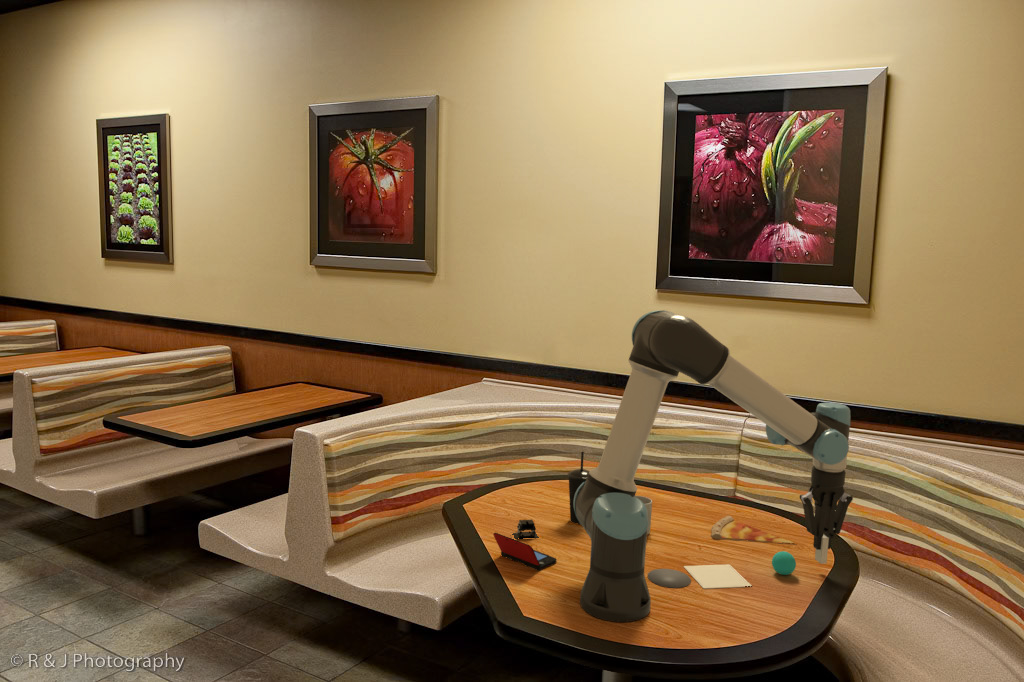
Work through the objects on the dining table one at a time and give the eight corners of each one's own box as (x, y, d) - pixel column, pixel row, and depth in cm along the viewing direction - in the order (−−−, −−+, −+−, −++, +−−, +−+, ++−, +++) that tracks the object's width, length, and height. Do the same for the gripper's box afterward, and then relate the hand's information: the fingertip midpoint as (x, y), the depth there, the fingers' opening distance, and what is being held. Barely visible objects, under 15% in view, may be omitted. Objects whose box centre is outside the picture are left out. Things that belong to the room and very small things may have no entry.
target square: (703, 588, 178) (703, 588, 178) (683, 566, 190) (683, 566, 190) (752, 586, 180) (752, 585, 180) (729, 565, 192) (729, 564, 192)
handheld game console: (558, 563, 190) (559, 534, 189) (529, 576, 182) (531, 546, 181) (520, 548, 198) (521, 520, 197) (491, 560, 190) (492, 531, 189)
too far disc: (656, 588, 177) (656, 588, 177) (641, 570, 187) (641, 569, 187) (697, 587, 179) (697, 586, 179) (681, 568, 189) (681, 567, 189)
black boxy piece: (505, 544, 201) (506, 527, 201) (500, 533, 209) (501, 517, 208) (551, 542, 204) (552, 525, 203) (545, 531, 211) (546, 515, 210)
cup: (645, 526, 216) (647, 495, 215) (657, 540, 206) (659, 507, 205) (620, 526, 215) (622, 495, 214) (630, 540, 205) (632, 508, 204)
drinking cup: (570, 526, 213) (574, 456, 211) (561, 517, 221) (565, 448, 218) (596, 525, 216) (600, 455, 213) (586, 515, 223) (590, 447, 220)
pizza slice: (763, 560, 197) (763, 552, 197) (692, 532, 214) (692, 525, 214) (796, 546, 207) (797, 539, 207) (726, 521, 224) (726, 514, 224)
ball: (778, 579, 185) (779, 557, 184) (766, 569, 190) (768, 548, 190) (799, 578, 186) (801, 556, 185) (787, 568, 191) (789, 547, 191)
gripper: (844, 462, 191) (836, 554, 194) (795, 463, 189) (788, 556, 192) (863, 471, 184) (854, 566, 187) (812, 472, 181) (804, 569, 185)
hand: (820, 561), depth 189 cm, fingers closed
